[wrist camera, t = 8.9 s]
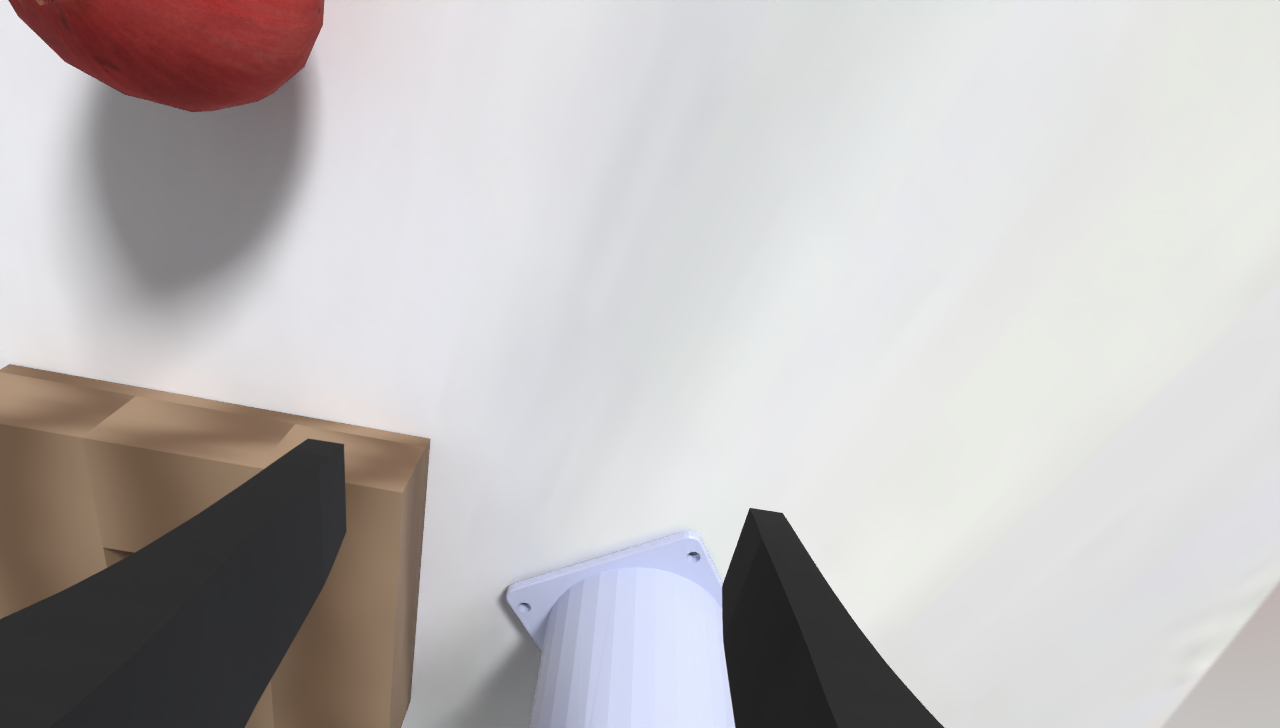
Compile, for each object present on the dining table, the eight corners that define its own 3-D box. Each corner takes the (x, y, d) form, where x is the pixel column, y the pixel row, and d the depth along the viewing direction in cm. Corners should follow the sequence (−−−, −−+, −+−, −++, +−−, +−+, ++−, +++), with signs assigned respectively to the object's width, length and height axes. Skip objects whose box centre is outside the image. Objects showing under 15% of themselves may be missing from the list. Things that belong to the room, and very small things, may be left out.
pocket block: (430, 439, 24) (402, 492, 22) (410, 700, 31) (387, 766, 28) (9, 364, 23) (-74, 411, 21) (79, 650, 30) (22, 714, 27)
